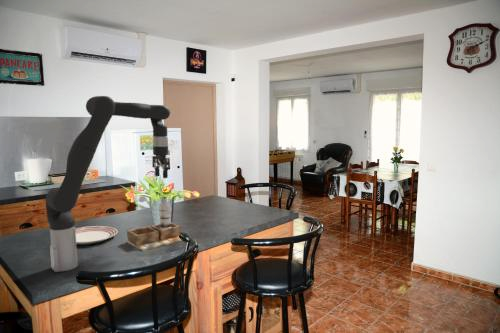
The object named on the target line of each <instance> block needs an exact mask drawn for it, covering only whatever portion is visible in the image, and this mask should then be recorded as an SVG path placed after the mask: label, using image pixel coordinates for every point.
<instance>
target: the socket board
mask: <svg viewBox="0 0 500 333" xmlns="http://www.w3.org/2000/svg"><path fill="white" fill-rule="evenodd" d="M159 227H160V223H158V224H153V225H150V226H144V227H139V228H134V229H128V230H127V231H126V233H127V234H126V240H125V241H126V243H128V244H129V245H132V247H134V248H136V249H138V250H140V251H141V252H144V251H148V250H152V249H156V248H160V247H165V246H169V245H172V244H176V243H180V242H183V241H182V240H181V239H180V238H179V234H180V233H181V234H182V226H181V225H178V224H176V223H173V222H171V227H172V228H168V229H163V230H161V229H159Z"/></svg>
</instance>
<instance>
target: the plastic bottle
mask: <svg viewBox="0 0 500 333" xmlns="http://www.w3.org/2000/svg"><path fill="white" fill-rule="evenodd" d="M160 202H161V203H160V204H159V206H158V213H159V224H160V227H159V229H161V230H163V229H168V228H172V227H171V223H172V221H171V218H172V217H171V216H172V206H171V204H170V203H169V196H167V197H161V198H160Z"/></svg>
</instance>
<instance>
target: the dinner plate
mask: <svg viewBox="0 0 500 333" xmlns="http://www.w3.org/2000/svg"><path fill="white" fill-rule="evenodd" d="M75 230H76V245H92V244H96V243H100V242H103V241H105V240H108V239H110V238H113V237H115V236H116V235H117V234H118V232H119V231H118V229H117V228H115V227H111V226H105V225H94V226H82V227H77V228H76V227H75Z"/></svg>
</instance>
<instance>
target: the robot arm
mask: <svg viewBox="0 0 500 333" xmlns="http://www.w3.org/2000/svg"><path fill="white" fill-rule="evenodd" d="M85 109H86V112H87V113H88V114H89V115H91V116H90V119H89V121H88V123H87V125H86V126H85V127H84V128H83V129H82V131H81V132H80V133H79V134H78V135H77V136H76V138H75V139H74V140H73V142H72V145H71V147H70V149H69V152H68V153H67V154H68V155H67V158H66V166H65V168H66V170H65V175H64V178H63V180H62V182H61V184H60V186H59V187H55V188H52V189H50V190H49V191H48V192H47V194H46V197H45V210H46V218H47V222H48V224H49V232H50V234H49V235H50V245H49V252H50V253H49V254H50V264H51V267H50V268H51V269H52V270H53V272H54V273H58V272H65V271H66V272H67V271H71V270H74V269H76V268H77V267H78V265H79V264H78V263H79V262H78V248H77V244H76V230H75V229H76V220H75V218H74V216H73V214H72V210H73V209H74V207H75V206H76V204H77V202H78V198H79V195H80V193H81V192H80V191H81V188H82V185H83V182H84V180H85V177H86V175H87V173H88V170H89V168H90V166H91V164H92V161H93V159H94V157H95V154H96V151H97V149H98V146H99V144H100V142H101V139H102V136H103V135H104V132H105V130H106V128H107V127H108V124H109V122H110V121H111V119H112V117H113V116H115V117H118V116H119V117H127V118H134V119H136V118H137V119H150V123H151V126H152V155H153V156H152V159H151V160H152V164H151V165H152V168H153V169H154V176H155V177H159V176H161V175H160V167H161V169H162V178H163V179H168V176H169V175H168V173H169V172H168V171H169V170H171V163H170V162H171V161H170V160H171V159H170V157H167V156H168V155H169V139H168V127H167V125H165V124H164V123H163V121H164V120H167V119H168V118H169V117H170V115H171V111H170V108H169V107H168V106H166V105H164V104H163V105H161V104H147V103H140V102H121V101H119V102H118V101H114V100H113V98H111V97H109V96H107V95H96V96H95V95H94V96H92V97H90V98H89V99H87V101H86V104H85Z"/></svg>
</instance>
